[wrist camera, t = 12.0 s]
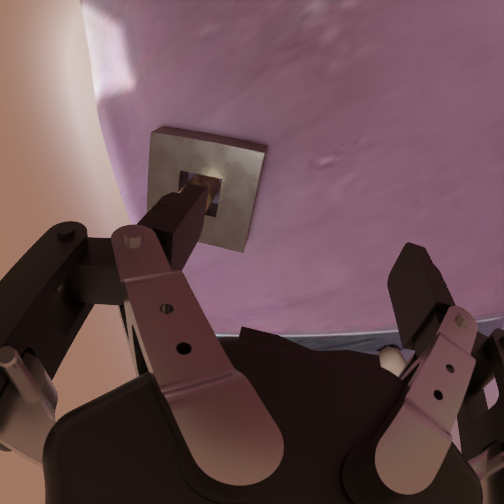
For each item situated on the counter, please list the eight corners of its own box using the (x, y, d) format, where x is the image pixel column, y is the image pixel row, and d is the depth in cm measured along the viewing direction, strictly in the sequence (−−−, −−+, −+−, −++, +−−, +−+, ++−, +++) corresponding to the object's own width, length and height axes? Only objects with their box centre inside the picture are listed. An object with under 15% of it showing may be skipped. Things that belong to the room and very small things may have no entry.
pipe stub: (193, 167, 41) (167, 194, 33) (222, 173, 40) (202, 201, 33) (190, 194, 43) (165, 225, 35) (218, 200, 43) (198, 233, 35)
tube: (369, 366, 52) (406, 415, 60) (395, 364, 48) (427, 413, 57) (374, 342, 55) (410, 395, 64) (399, 339, 52) (430, 393, 60)
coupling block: (162, 126, 38) (151, 132, 35) (267, 145, 37) (264, 153, 35) (156, 217, 46) (146, 229, 43) (247, 239, 45) (243, 252, 43)
